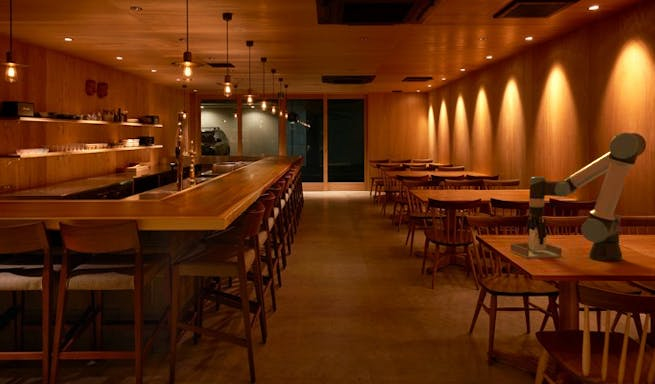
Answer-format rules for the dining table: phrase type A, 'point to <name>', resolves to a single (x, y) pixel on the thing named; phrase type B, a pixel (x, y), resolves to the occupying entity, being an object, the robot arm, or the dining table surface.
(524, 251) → the shallow square tray
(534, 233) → the mug
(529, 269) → the dining table surface
